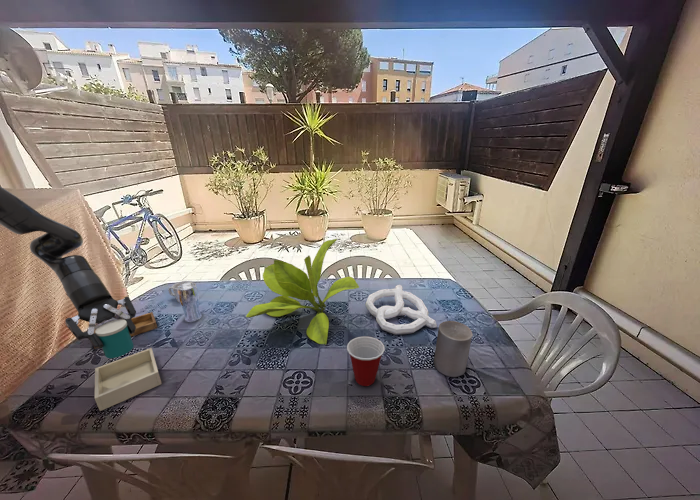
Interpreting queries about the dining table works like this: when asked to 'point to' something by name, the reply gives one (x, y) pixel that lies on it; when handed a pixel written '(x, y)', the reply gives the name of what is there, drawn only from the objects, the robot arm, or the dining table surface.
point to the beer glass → (189, 301)
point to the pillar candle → (452, 348)
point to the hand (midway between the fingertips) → (117, 339)
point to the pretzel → (399, 311)
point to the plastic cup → (365, 358)
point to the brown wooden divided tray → (143, 324)
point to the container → (115, 338)
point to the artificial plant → (301, 291)
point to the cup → (176, 289)
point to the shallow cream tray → (125, 378)
